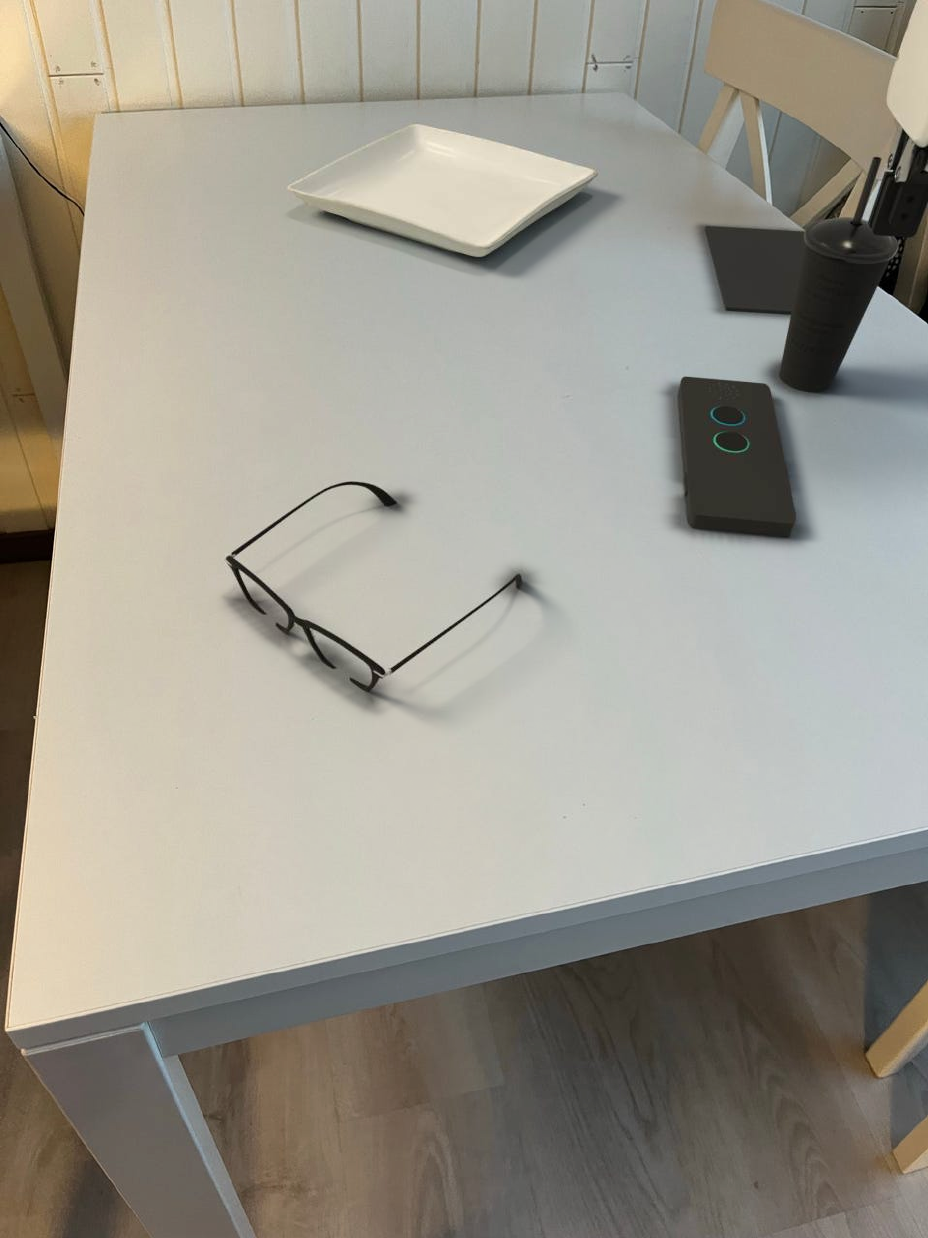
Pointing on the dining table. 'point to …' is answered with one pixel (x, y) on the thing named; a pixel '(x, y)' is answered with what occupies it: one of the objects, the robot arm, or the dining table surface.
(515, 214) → the square plate
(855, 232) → the drinking cup
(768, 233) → the mat
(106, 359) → the dining table surface
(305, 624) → the eyeglasses
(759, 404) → the smart home device
